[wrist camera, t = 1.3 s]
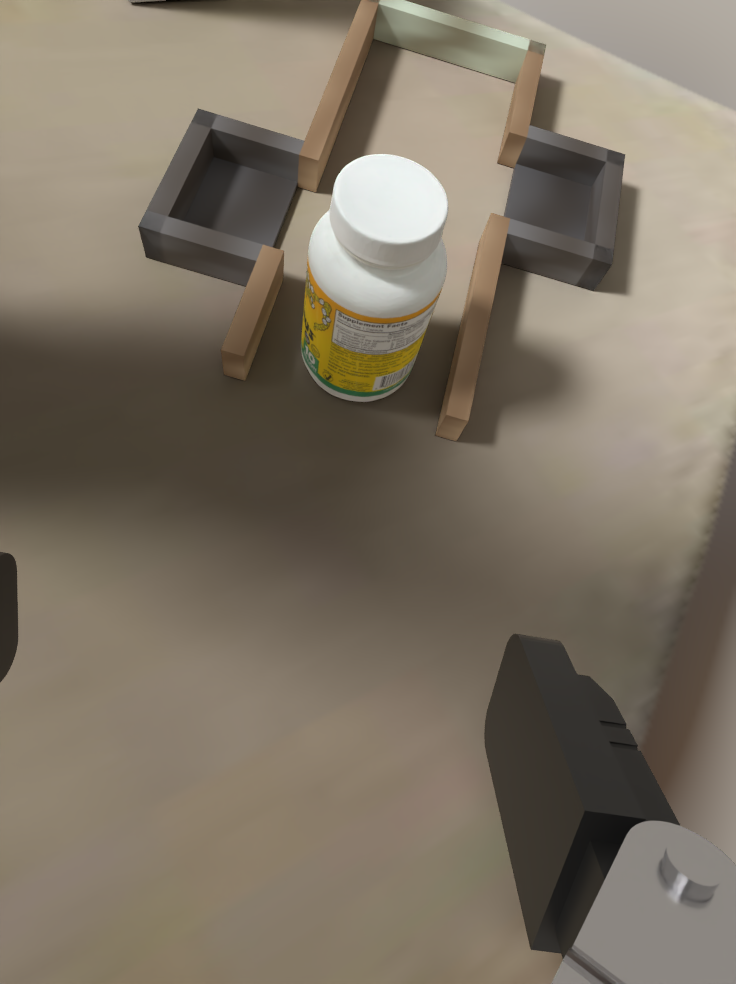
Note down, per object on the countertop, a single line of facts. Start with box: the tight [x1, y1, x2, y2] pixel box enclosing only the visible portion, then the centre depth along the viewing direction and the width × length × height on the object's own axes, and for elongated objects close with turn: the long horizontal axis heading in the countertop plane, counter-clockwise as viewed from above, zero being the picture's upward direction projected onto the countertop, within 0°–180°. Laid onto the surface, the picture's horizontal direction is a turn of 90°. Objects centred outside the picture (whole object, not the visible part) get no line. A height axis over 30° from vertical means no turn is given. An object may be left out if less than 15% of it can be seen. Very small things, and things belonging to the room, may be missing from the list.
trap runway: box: [138, 0, 625, 441], centre depth 34 cm, size 22×26×2 cm
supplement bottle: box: [301, 154, 448, 402], centre depth 26 cm, size 5×5×10 cm
